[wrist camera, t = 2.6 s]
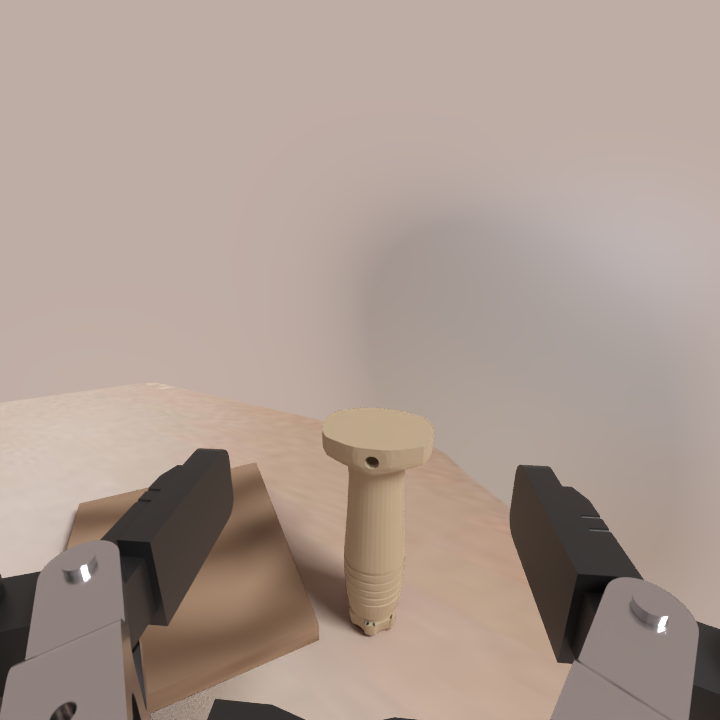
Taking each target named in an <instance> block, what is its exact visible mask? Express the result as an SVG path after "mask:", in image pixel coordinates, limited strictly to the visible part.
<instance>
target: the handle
mask: <svg viewBox="0 0 720 720" xmlns="http://www.w3.org/2000/svg"><path fill="white" fill-rule="evenodd" d="M322 437H323V448H324V450H325V452H326V454H327V455H328V456H330V457H332V458H333V459H335V460H337V461H339V462H341V463H343V464H345V465H347V466H348V469H349V488H348V508H347V521H346V534H345V547H344V570H345V581H346V589H347V594H348V599H349V603H350V606H349V613H350V618H351V621H352V623H353V624H356V625H358V626H360V627H361V628H362V629H363V630H364V632H365V634H367V635H370V636H373V635H375V634H376V633H377V632H379V631H382V630H386V629H387V630H389V629H391V628H392V626H393V625H394V622H395V617H396V613H395V609H396V607H397V604H398V601H399V598H400V594H401V589H402V583H403V577H404V567H405V526H404V476H405V470H406V469H409V468H413V467H416V466H419V465H422V464H424V463H425V462H426V461H427V460H428V459H429V458H430V456H431V454H432V449H433V441H434V428H433V426H432V424H431V423H430V422H429V421H428V420H427V419H426V418H424V417H420V416H417V415H413V414H411V413H407V412H403V411H399V410H392V409H381V408H357V409H348V410H340V411H337V412H335V413H333V414H331V415H330V416H329V417H328V418H327V419H326V420H325V421H324V423H323V426H322Z"/></svg>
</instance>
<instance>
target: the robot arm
mask: <svg viewBox="0 0 720 720" xmlns="http://www.w3.org/2000/svg"><path fill="white" fill-rule="evenodd" d="M233 501H234V495H233V486H232V478H231V470H230V461H229V455H228V452H227V451H226V450H222V449H202V448H199V449H197V450H196V451H195V452H194V453H193V454H192V455H191V456H190V458H189V459H188V460H187V461H186V462H185V463H184V464H183V465H177V466H175V467H174V468H172V469H170V470H169V471H167V472H166V473H164V474H162V475H161V476H160V477H159V478H158V479H157V480H156V481H155V482H154V483H153V484H152V485H151V486H150V487H149V488H148V491H145V492H144V494H143V495H142V496H141V497H140V498H139V499H138V502H135V503H134V504H133V505H132V506H131V507H130V508H129V510H128V511H127V512H126V513H125V514H124V515H123V516H122V517H121V518H120V519H119V520H118V521H117V522H116V523H115V524H114V526H113V527H112V528H111V529H110V530H109V531H108V532H107V533H106V534H105V535H104V536H103V537H102V538H101V539H100V540H97V541H90V542H86V543H82V544H79V545H77V546H74V547H72V548H70V549H68V550H66V551H64V552H62V553H61V554H59V555H58V556H56V557H55V558H54V559H53V560H51V561H50V562H49V563H48V564H47V565H46V566H45V567H44V569H43V570H42V571H41V572H35V573H30V574H24V575H19V576H13V577H8V578H2V577H1V575H0V720H151V717H150V709H149V700H148V692H147V683H146V675H145V666H144V658H143V649H142V644H141V639H140V637H141V636H142V634H143V632H144V631H145V629H146V628H147V626H148V625H159V626H168V625H169V623H170V622H171V620H172V618H173V616H174V615H175V613H176V611H177V609H178V608H179V606H180V604H181V602H182V601H183V599H184V597H185V595H186V594H187V592H188V590H189V588H190V587H191V585H192V583H193V581H194V579H195V578H196V576H197V574H198V572H199V571H200V569H201V567H202V565H203V564H204V562H205V560H206V558H207V557H208V555H209V553H210V551H211V550H212V548H213V546H214V544H215V543H216V541H217V539H218V537H219V536H220V534H221V532H222V530H223V529H224V527H225V525H226V523H227V522H228V520H229V518H230V515H231V512H232V508H233ZM510 529H511V535H512V538H513V541H514V544H515V547H516V549H517V552H518V555H519V558H520V560H521V563H522V566H523V569H524V571H525V574H526V577H527V580H528V582H529V585H530V588H531V591H532V593H533V596H534V599H535V602H536V604H537V607H538V610H539V613H540V616H541V618H542V621H543V624H544V627H545V629H546V632H547V635H548V638H549V640H550V643H551V646H552V649H553V651H554V654H555V657H556V660H557V662H558V663H569V664H572V666H571V669H570V671H569V674H568V676H567V679H566V681H565V684H564V686H563V689H562V691H561V694H560V696H559V699H558V701H557V704H556V706H555V709H554V711H553V714H552V716H551V719H550V720H720V629H718V628H715V627H712V626H708V625H706V624H703V623H700V622H697V621H696V620H695V618H694V617H693V615H692V614H691V612H690V611H689V610H688V609H687V608H686V606H685V605H684V604H683V603H681V602H680V601H679V600H678V599H677V598H676V597H674V596H673V595H672V594H670V593H669V592H667V591H666V590H664V589H662V588H660V587H659V586H657V585H654V584H652V583H650V582H647V581H644V580H643V578H642V577H641V575H640V574H639V572H638V571H637V569H636V568H635V566H634V565H633V564H632V562H631V561H630V559H629V558H628V556H627V555H626V553H625V552H624V550H623V549H622V547H621V546H620V545H619V543H618V542H617V540H616V539H615V537H614V536H613V534H612V533H610V532H609V529H608V527H607V526H606V524H605V523H604V521H603V520H602V519H600V515H599V514H598V513H597V511H596V510H595V508H594V507H593V505H592V504H591V502H590V501H589V500H588V499H587V498H585V497H584V496H583V495H581V494H580V493H579V492H578V491H576V490H575V489H574V488H572V487H563V486H562V485H561V484H560V482H559V480H558V479H557V477H556V475H555V474H554V472H553V471H552V469H551V468H550V467H548V466H532V465H519V466H518V467H517V470H516V474H515V482H514V489H513V495H512V503H511V509H510ZM207 720H305V719H303V718H300V717H298V716H296V715H294V714H291V713H289V712H287V711H285V710H283V709H280V708H278V707H276V706H274V705H269V704H259V703H249V702H240V701H230V700H220V699H215V701H214V703H213V706H212V709H211V711H210V714H209V716H208V719H207ZM385 720H415V719H405V718H395V717H394V718H389V719H385Z"/></svg>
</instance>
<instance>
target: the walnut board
mask: <svg viewBox="0 0 720 720" xmlns="http://www.w3.org/2000/svg"><path fill="white" fill-rule="evenodd" d="M230 470H231V478H232V486H233V495H234V501H233V508H232V512H231V515H230V518H229V520H228V522H227V523H226V525H225V527H224V529H223V530H222V532H221V534H220V536H219V537H218V539H217V541H216V543H215V544H214V546H213V548H212V550H211V551H210V553H209V555H208V557H207V558H206V560H205V562H204V564H203V565H202V567H201V569H200V571H199V572H198V574H197V576H196V578H195V579H194V581H193V583H192V585H191V587H190V588H189V590H188V592H187V594H186V595H185V597H184V599H183V601H182V602H181V604H180V606H179V608H178V609H177V611H176V613H175V615H174V616H173V618H172V620H171V622H170V623H169V625H168V626H159V625H148V626H147V628H146V629H145V631H144V632H143V634H142V636H141V637H140V639H141V644H142V649H143V658H144V666H145V675H146V683H147V692H148V700H149V709H150V713H152V712H154V711H156V710H159V709H161V708H163V707H165V706H168V705H170V704H172V703H175V702H177V701H179V700H182V699H184V698H186V697H188V696H191V695H193V694H195V693H198V692H200V691H202V690H205V689H207V688H209V687H211V686H214V685H216V684H218V683H221V682H223V681H225V680H228V679H230V678H232V677H234V676H237V675H239V674H241V673H244V672H246V671H248V670H251V669H253V668H255V667H257V666H260V665H262V664H264V663H267V662H269V661H271V660H274V659H276V658H278V657H280V656H283V655H285V654H287V653H290V652H292V651H294V650H297V649H299V648H301V647H303V646H306V645H308V644H310V643H313V642H315V641H317V640H319V626H318V621H317V618H316V616H315V613H314V611H313V608H312V605H311V603H310V600H309V598H308V595H307V593H306V590H305V587H304V585H303V582H302V580H301V577H300V575H299V572H298V569H297V567H296V564H295V562H294V559H293V557H292V554H291V551H290V549H289V546H288V544H287V541H286V538H285V536H284V533H283V531H282V528H281V526H280V523H279V520H278V518H277V515H276V513H275V510H274V508H273V505H272V502H271V500H270V497H269V495H268V492H267V489H266V487H265V484H264V482H263V479H262V477H261V474H260V471H259V469H258V466H257V464H256V463H252V464H248V465H243V466H239V467H235V468H231V469H230ZM145 491H148V488H145V489H141V490H136V491H132V492H128V493H123V494H119V495H115V496H111V497H106V498H102V499H98V500H93V501H89V502H85V503H81V504H79V507H78V511H77V514H76V518H75V521H74V525H73V528H72V532H71V536H70V539H69V543H68V546H67V550H68V549H70V548H72V547H74V546H77V545H79V544H82V543H86V542H90V541H97V540H100V539H101V538H102V537H103V536H104V535H105V534H106V533H107V532H108V531H109V530H110V529H111V528H112V527H113V526H114V524H115V523H116V522H117V521H118V520H119V519H120V518H121V517H122V516H123V515H124V514H125V513H126V512H127V511H128V510H129V508H130V507H131V506H132V505H133V504H134V503H135V502H138V499H139V498H140V497H141V496H142V495H143V494H144V492H145Z"/></svg>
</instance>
